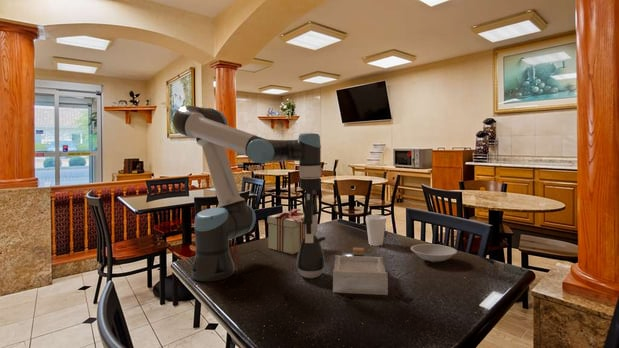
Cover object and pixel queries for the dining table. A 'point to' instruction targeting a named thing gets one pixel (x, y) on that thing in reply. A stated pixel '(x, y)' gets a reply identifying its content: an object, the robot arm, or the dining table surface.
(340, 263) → the white tray
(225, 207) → the robot arm
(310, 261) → the pump dispenser
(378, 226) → the foam cup
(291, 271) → the dining table surface
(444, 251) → the dish
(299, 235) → the gift box
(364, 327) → the dining table surface
